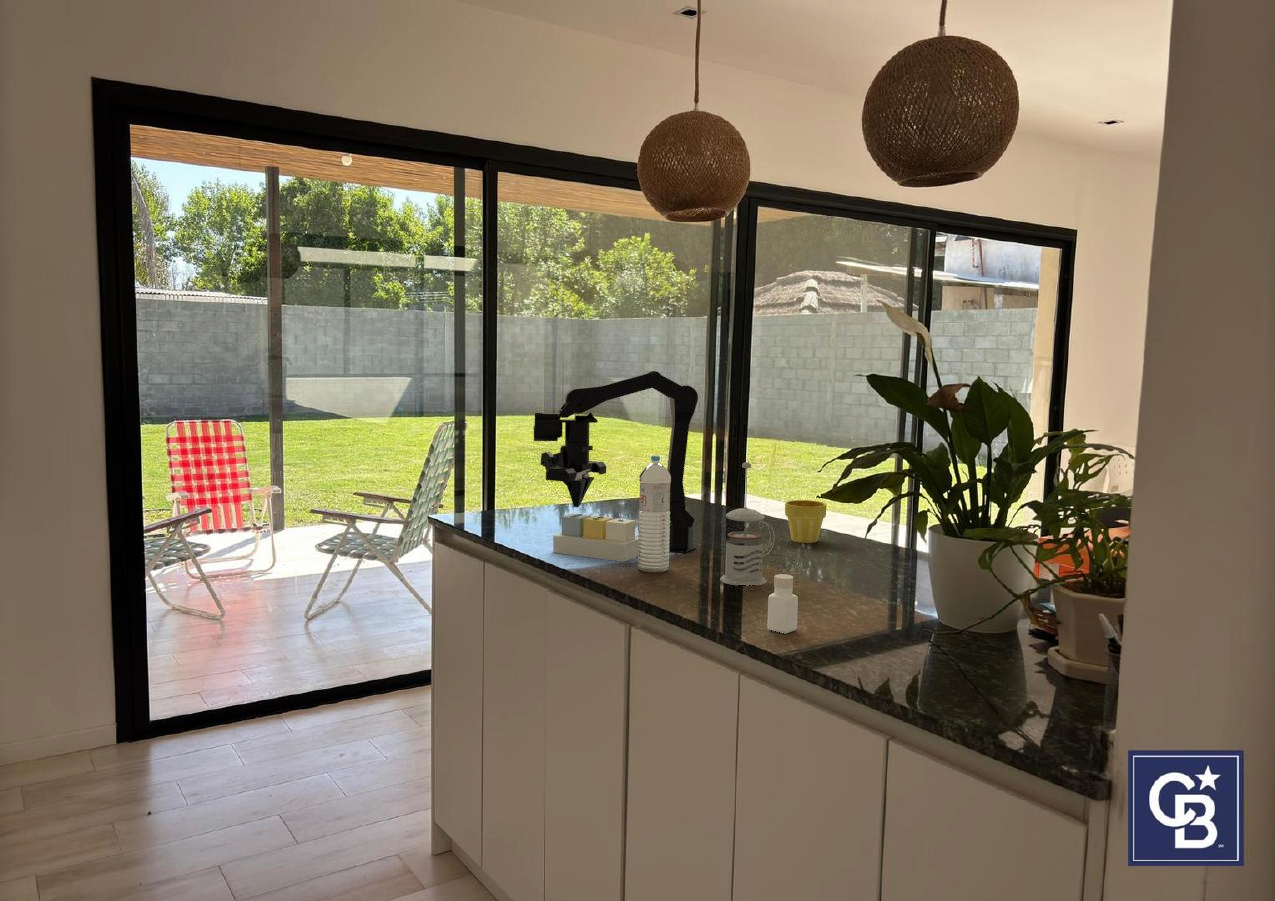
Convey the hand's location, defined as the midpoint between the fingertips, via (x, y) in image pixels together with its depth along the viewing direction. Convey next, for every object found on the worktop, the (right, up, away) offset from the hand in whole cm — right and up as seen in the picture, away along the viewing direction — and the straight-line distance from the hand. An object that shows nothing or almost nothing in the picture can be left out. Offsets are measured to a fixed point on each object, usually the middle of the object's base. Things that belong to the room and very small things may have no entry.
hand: (576, 507), depth 222 cm
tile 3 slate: (0, -7, +1) cm, 7 cm away
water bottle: (+18, -13, -17) cm, 28 cm away
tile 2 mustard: (+5, -8, -2) cm, 9 cm away
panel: (+5, -11, -2) cm, 12 cm away
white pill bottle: (+39, -18, -60) cm, 74 cm away
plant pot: (+57, -10, +18) cm, 61 cm away
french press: (+38, -14, -25) cm, 47 cm away
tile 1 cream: (+10, -8, -5) cm, 14 cm away
